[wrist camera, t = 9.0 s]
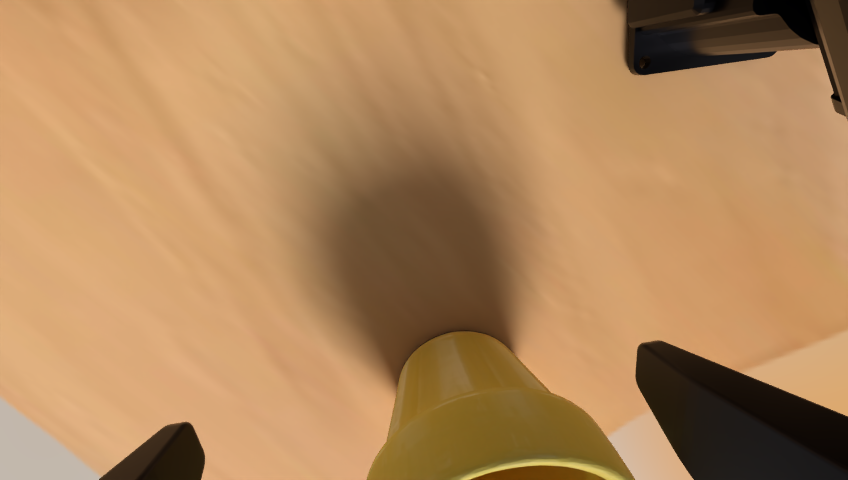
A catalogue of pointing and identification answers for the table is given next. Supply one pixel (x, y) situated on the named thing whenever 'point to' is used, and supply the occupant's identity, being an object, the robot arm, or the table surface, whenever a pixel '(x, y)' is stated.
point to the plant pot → (487, 421)
